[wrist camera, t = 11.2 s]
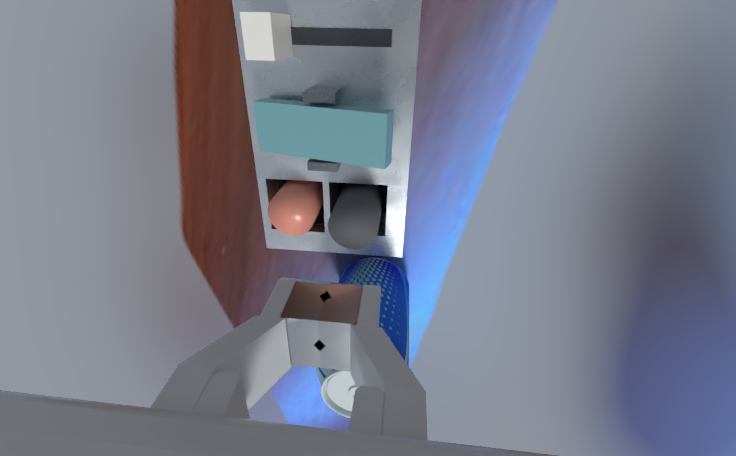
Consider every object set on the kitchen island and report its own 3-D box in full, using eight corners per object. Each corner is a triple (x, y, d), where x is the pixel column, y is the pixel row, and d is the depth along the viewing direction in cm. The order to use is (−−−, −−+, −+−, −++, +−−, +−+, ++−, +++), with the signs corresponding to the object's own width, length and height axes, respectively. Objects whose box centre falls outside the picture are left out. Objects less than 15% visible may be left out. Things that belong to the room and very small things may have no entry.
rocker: (265, 97, 29) (253, 101, 28) (394, 109, 26) (387, 113, 25) (270, 146, 31) (259, 151, 30) (391, 162, 28) (384, 169, 27)
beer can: (344, 306, 47) (316, 424, 33) (337, 251, 43) (303, 359, 29) (409, 307, 46) (409, 429, 32) (408, 251, 42) (408, 363, 28)
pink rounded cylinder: (284, 168, 37) (264, 191, 32) (326, 170, 37) (313, 194, 32) (288, 206, 40) (270, 233, 34) (328, 209, 39) (315, 236, 34)
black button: (338, 177, 35) (326, 203, 30) (383, 180, 35) (379, 206, 30) (339, 217, 38) (328, 247, 32) (381, 219, 37) (377, 251, 32)
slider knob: (263, 14, 27) (239, 11, 23) (289, 14, 27) (270, 12, 23) (268, 55, 28) (245, 60, 24) (293, 56, 28) (274, 60, 24)
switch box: (256, 1, 31) (209, -8, 24) (419, 3, 30) (423, -5, 23) (281, 225, 42) (254, 266, 34) (402, 232, 41) (401, 277, 33)
